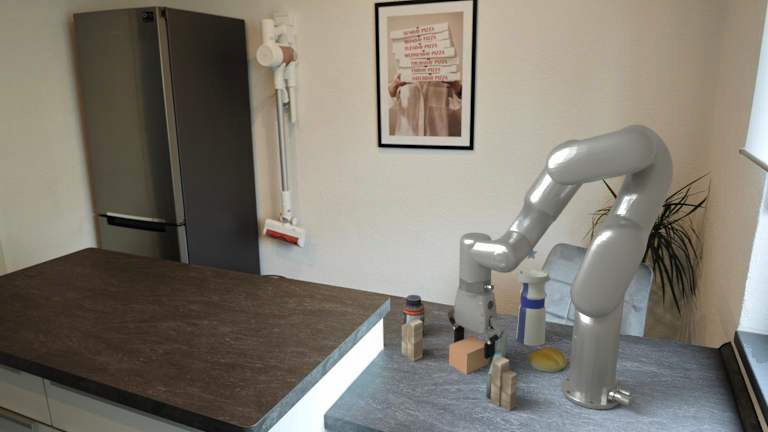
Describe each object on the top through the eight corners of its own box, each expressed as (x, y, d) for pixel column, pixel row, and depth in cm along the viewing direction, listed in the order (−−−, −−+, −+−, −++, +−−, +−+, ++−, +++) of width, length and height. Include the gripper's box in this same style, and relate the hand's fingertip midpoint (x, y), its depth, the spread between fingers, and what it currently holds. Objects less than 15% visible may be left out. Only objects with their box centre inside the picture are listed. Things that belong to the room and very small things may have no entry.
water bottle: (507, 336, 149) (511, 250, 143) (531, 330, 152) (536, 246, 147) (526, 348, 142) (532, 258, 136) (552, 342, 145) (558, 254, 139)
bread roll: (521, 363, 134) (522, 348, 133) (546, 354, 139) (547, 340, 138) (547, 377, 128) (548, 362, 127) (572, 367, 132) (573, 352, 131)
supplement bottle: (404, 329, 153) (404, 292, 151) (424, 330, 152) (425, 293, 150) (401, 339, 148) (401, 300, 145) (423, 340, 147) (423, 301, 144)
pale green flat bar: (493, 398, 118) (494, 378, 117) (485, 397, 119) (486, 376, 117) (507, 351, 139) (508, 333, 138) (500, 350, 140) (501, 332, 139)
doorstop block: (488, 364, 134) (489, 344, 133) (466, 374, 129) (467, 354, 128) (471, 355, 138) (471, 335, 137) (449, 365, 134) (449, 344, 132)
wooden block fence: (516, 406, 116) (519, 364, 113) (508, 411, 114) (510, 369, 112) (408, 350, 141) (408, 315, 139) (400, 354, 139) (400, 318, 137)
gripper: (514, 289, 124) (512, 357, 128) (458, 272, 137) (457, 334, 141) (494, 298, 120) (492, 368, 123) (438, 279, 133) (437, 343, 136)
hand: (473, 350), depth 132 cm, fingers open, 9 cm apart
